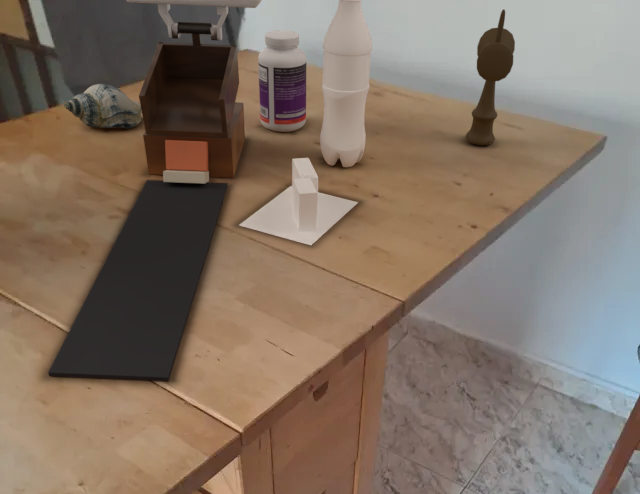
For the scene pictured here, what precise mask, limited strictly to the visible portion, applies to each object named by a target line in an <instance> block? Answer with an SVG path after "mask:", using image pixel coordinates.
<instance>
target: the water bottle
mask: <svg viewBox="0 0 640 494" xmlns="http://www.w3.org/2000/svg"><path fill="white" fill-rule="evenodd" d="M362 9H363V8H362V0H338V4H337V8H336V12H335V14H334V15H333V18H332V19H331V22H330V24H329V26H328V28H327V30H326V32H325V35H324V38H323V43H322V49H323V60H322V82H321V90H322V97H323V118H322V125H321V130H320V134H319V146H320V151H321V154H322V157H323V159H324V161H325V163H326V164H327V165H329V166H331V167H333V166H334V165H336V163H337V162H338V160H340V163H341V165H342V167H343V168H351V167H353V166H354V165H356V163H360V161H361V159H362V158H363V156H364V152H365V148H366V139H367V134H366V127H365V111H366V103H367V98H368V94H369V90H370V87H371V85H370V74H371V73H370V72H371V59H372V52H373V40H372V35H371V32H370V29H369V26H368V24H367V21H366V19H365V16H364V14H363V10H362Z"/></svg>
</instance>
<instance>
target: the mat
mask: <svg viewBox="0 0 640 494" xmlns="http://www.w3.org/2000/svg"><path fill="white" fill-rule="evenodd" d="M228 185H229V184H228V183H227V182H207V183H205V184H199V183H175V182H164V180H159V179H158V180H157V179H146V181H145V183H144V185H143V187H142V189H141V191H140V193H139V195H138V197H137V199H136V200H135V202H134V205H133V206H132V208H131V210H130V213H129V214H128V216H127V218H126V220H125V222H124V224H123V226H122V228H121V230H120V232H119V234H118V235H117V237H116V240H115V242H114V243H113V245H112V248H111V249H110V251H109V253H108V255H107V257H106V259H105V261H104V263H103V265H102V267H101V269H100V271H99V273H98V275H97V277H96V279H95V280H94V282H93V285H92V286H91V289H90V290H89V292H88V294H87V296H86V298H85V300H84V302H83V304H82V306H81V307H80V309H79V312H78V314H77V316H76V317H75V320H74V322H73V323H72V325H71V327H70V329H69V331H68V333H67V335H66V337H65V339H64V341H63V342H62V345H61V346H60V348H59V350H58V352H57V354H56V357H55V359H53V362H52V364H51V366H50V367H49V370H48V371H47V373H48V376H49V377H60V378H61V377H62V378H85V379H105V380H106V379H109V380H129V381H130V380H133V381H153V382H155V381H157V382H169V381H170V378H171V374H172V371H173V368H174V365H175V361H176V359H177V355H178V351H179V349H180V345H181V341H182V339H183V335H184V333H185V329H186V327H187V322H188V318H189V315H190V312H191V309H192V305H193V302H194V300H195V296H196V292H197V288H198V286H199V282H200V279H201V276H202V272H203V269H204V265H205V263H206V260H207V256H208V253H209V249H210V246H211V243H212V239H213V236H214V233H215V229H216V226H217V223H218V219H219V217H220V213H221V210H222V206H223V203H224V200H225V196H226V193H227V191H228V187H229V186H228Z"/></svg>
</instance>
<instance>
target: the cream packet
mask: <svg viewBox="0 0 640 494" xmlns="http://www.w3.org/2000/svg"><path fill="white" fill-rule="evenodd" d="M162 177H163V180H162V181H164V182H175V183H199V184H205V183H207V182H208V183H210V177H209V171H196V170H172V169H168V170H165V171H163V175H162Z"/></svg>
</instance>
